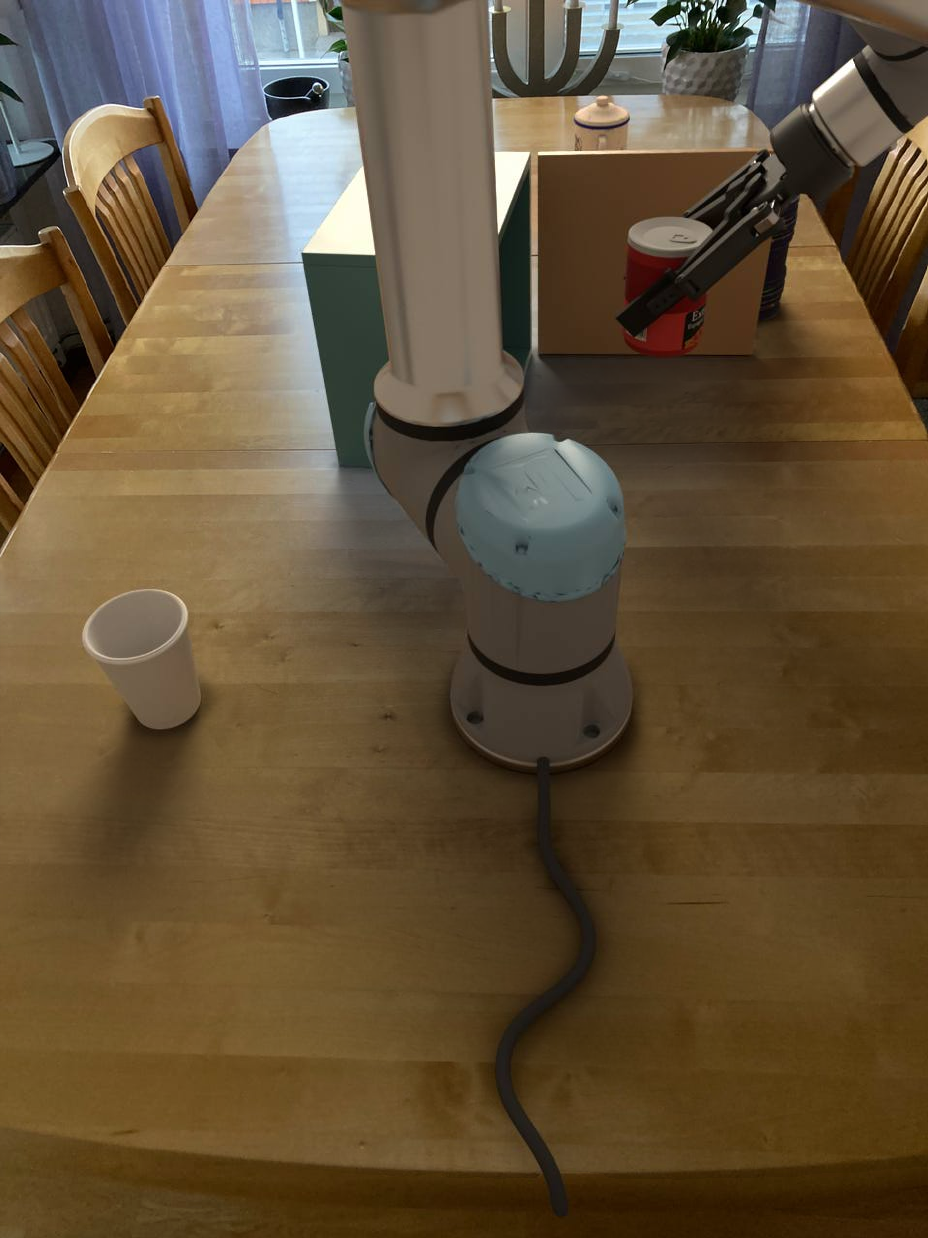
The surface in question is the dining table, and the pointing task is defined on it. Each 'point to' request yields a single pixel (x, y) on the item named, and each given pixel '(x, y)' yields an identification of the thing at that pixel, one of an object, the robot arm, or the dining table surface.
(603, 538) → the robot arm
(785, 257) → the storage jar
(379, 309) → the box
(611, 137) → the teacup with lid
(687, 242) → the canned food
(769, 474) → the dining table surface
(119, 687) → the dixie cup
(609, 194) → the fridge door
